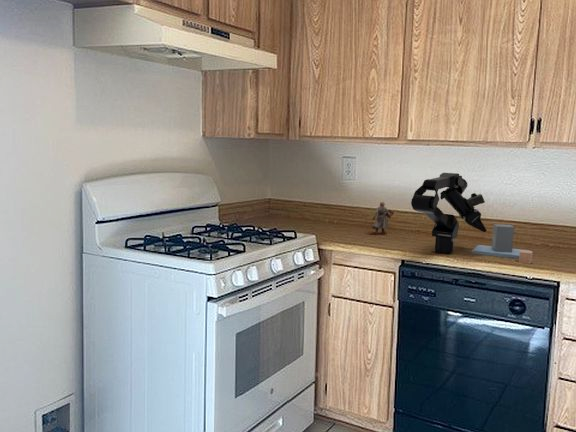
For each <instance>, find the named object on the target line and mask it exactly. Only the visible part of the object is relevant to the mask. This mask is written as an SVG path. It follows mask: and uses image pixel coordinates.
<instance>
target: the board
mask: <svg viewBox="0 0 576 432" xmlns="http://www.w3.org/2000/svg"><path fill="white" fill-rule="evenodd" d="M521 250H523V251H531V250H527V249H518V248H512V252H495V251H494V250H493V249H492V245H481V244H477V245H476V246H475V248H473V249H471V254H474V255H482V256H483V255H484V256H491V257H492V256H493V257H501V258H508V259H509V258H510V259H518V260H519V255H520V251H521Z"/></svg>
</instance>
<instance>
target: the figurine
mask: <svg viewBox="0 0 576 432" xmlns="http://www.w3.org/2000/svg"><path fill="white" fill-rule="evenodd" d="M394 214H395V212H394V211H392V210H391V209H388V208H387V207H385V202H384V201H380V203H379V206H378V207H376V211H374V214H373V216H372V220H373V221H374V220H375V219H376V220H375V222H374V223H373V224H372V225H371V226H370V228H372V229H373V230H375V231H374V234H375V235H379V229H381V234H387V231H385V230H386V229H388V228H389V220H388V219H391V218H392V216H393V215H394ZM376 216H377V217H376Z"/></svg>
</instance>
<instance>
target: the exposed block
mask: <svg viewBox="0 0 576 432" xmlns="http://www.w3.org/2000/svg"><path fill="white" fill-rule="evenodd" d="M523 250H524V249H521V251H520V255H519V259H518V263H521V264H529V265H531V264H532V263H533V253H534V252H533V251H531V250H530V251H523Z"/></svg>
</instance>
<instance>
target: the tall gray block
mask: <svg viewBox="0 0 576 432" xmlns="http://www.w3.org/2000/svg"><path fill="white" fill-rule="evenodd" d="M492 226H493V227H492V239H491V246H492V249H493V250H494V251H495V252H512V249H514V248H513V246H514V236H515V235H514V234H515V227H514V226H513V225H512V224H501V223H500V224H498V223H493V225H492Z"/></svg>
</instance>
